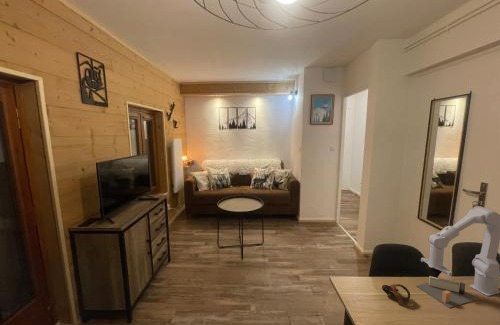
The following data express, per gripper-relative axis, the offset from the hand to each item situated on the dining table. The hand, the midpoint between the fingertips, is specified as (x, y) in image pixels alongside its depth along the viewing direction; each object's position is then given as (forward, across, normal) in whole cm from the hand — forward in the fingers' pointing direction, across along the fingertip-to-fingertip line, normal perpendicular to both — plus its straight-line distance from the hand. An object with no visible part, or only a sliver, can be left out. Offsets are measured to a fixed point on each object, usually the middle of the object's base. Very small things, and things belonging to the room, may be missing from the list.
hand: (434, 280), depth 120 cm
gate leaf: (+2, +4, +1) cm, 4 cm away
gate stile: (+3, +11, -7) cm, 13 cm away
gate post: (+3, +9, +6) cm, 11 cm away
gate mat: (+3, +6, -1) cm, 7 cm away
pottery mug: (+3, +1, -28) cm, 28 cm away
